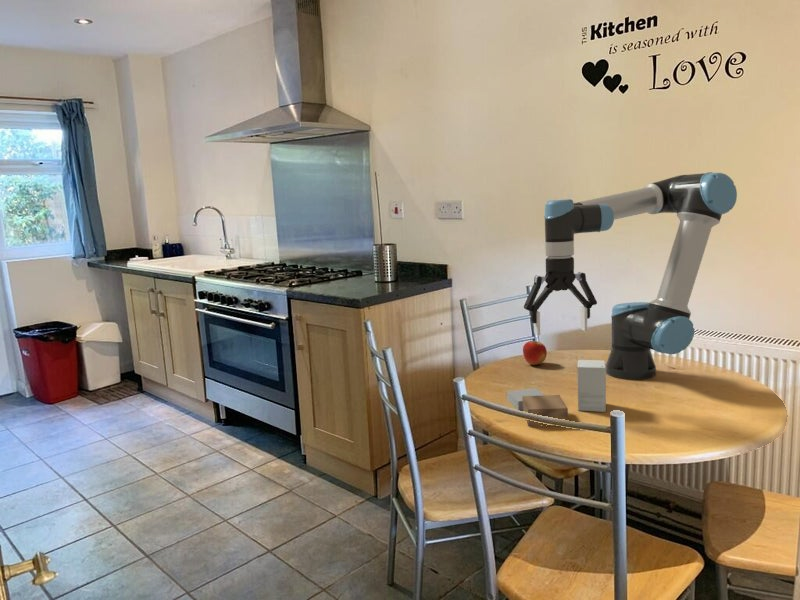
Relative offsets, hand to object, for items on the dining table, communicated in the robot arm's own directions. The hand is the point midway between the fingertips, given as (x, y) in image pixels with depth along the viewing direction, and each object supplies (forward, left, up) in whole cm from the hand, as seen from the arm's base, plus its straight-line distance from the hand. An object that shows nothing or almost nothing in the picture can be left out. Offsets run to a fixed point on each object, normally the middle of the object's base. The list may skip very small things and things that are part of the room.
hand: (560, 332), depth 160 cm
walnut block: (+7, +12, -21) cm, 25 cm away
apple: (+3, -38, -21) cm, 43 cm away
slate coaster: (+10, 0, -21) cm, 23 cm away
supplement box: (-7, +4, -21) cm, 22 cm away
